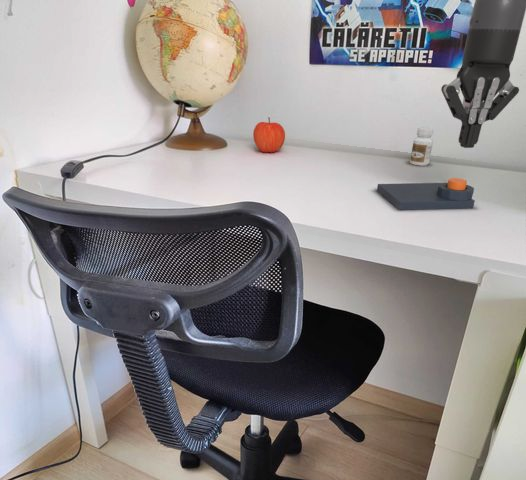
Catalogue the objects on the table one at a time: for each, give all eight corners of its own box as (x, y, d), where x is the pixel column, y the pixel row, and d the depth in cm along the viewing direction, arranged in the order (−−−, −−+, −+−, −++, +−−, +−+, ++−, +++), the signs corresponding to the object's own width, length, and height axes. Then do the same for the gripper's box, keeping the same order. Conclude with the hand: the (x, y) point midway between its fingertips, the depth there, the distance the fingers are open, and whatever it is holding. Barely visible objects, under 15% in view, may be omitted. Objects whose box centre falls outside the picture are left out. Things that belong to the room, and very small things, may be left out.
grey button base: (446, 189, 99) (449, 174, 97) (476, 208, 89) (480, 191, 87) (376, 191, 97) (378, 175, 95) (398, 210, 87) (401, 193, 85)
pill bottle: (406, 163, 117) (412, 128, 113) (416, 160, 120) (422, 126, 116) (422, 166, 115) (428, 131, 111) (432, 164, 117) (439, 128, 113)
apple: (253, 154, 122) (253, 119, 118) (253, 148, 129) (253, 114, 124) (285, 155, 122) (286, 120, 118) (283, 148, 129) (285, 115, 125)
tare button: (460, 186, 91) (462, 177, 90) (468, 191, 88) (470, 182, 88) (443, 186, 91) (445, 178, 90) (451, 191, 88) (453, 182, 87)
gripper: (466, 25, 72) (440, 151, 81) (549, 28, 73) (514, 151, 83) (443, 25, 78) (421, 142, 87) (520, 28, 80) (490, 142, 89)
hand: (466, 146), depth 85 cm, fingers closed
